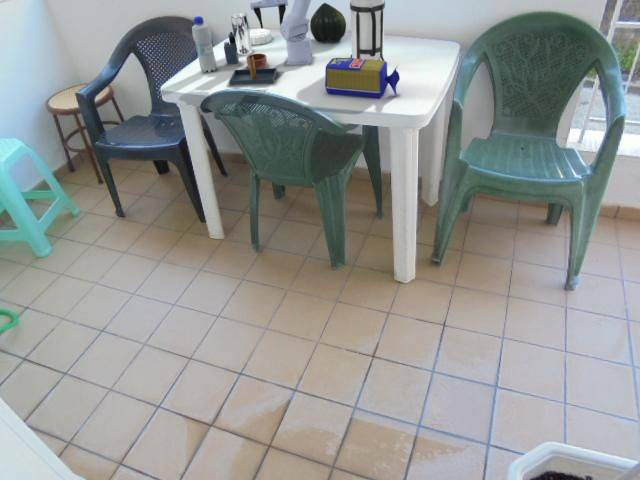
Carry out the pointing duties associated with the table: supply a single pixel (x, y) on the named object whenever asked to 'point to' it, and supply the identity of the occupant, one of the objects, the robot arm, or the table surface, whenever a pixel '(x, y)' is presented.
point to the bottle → (204, 45)
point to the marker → (252, 67)
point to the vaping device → (231, 50)
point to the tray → (245, 78)
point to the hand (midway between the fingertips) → (271, 26)
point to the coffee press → (367, 29)
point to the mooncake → (259, 36)
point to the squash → (327, 24)
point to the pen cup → (258, 61)
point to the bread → (359, 77)
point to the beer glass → (242, 32)
